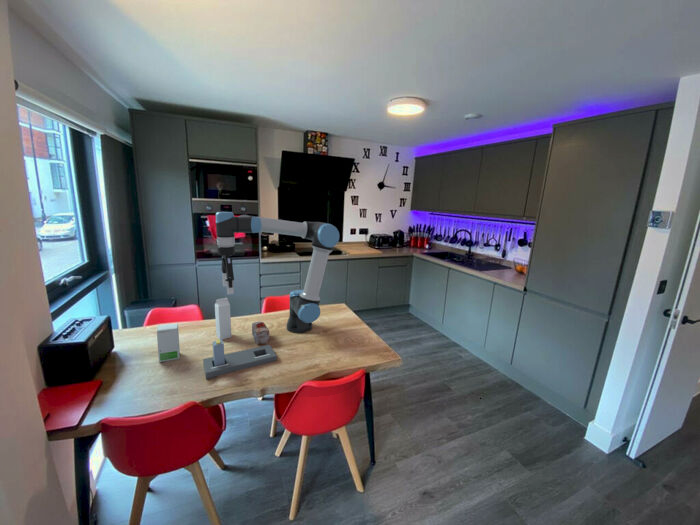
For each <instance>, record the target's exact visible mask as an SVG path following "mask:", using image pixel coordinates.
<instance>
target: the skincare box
mask: <svg viewBox="0 0 700 525" xmlns="http://www.w3.org/2000/svg"><path fill="white" fill-rule="evenodd" d="M179 332H180V330H179V322H178V323H168V324H160V325H157V328H156V340H157V353H158V354H157V355H158V363H162V362H169V361H174V360H180V353H181V352H180V336H179V335H180V333H179Z"/></svg>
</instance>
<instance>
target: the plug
mask: <svg viewBox="0 0 700 525" xmlns="http://www.w3.org/2000/svg"><path fill="white" fill-rule="evenodd" d="M212 351H213V352H212V353H213V356H212V357H214V367H216V366H220V365H224V364H225V358H224V354H225V343H224V339H223V340H220V339H219V338H217V339H215V341H212Z"/></svg>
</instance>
